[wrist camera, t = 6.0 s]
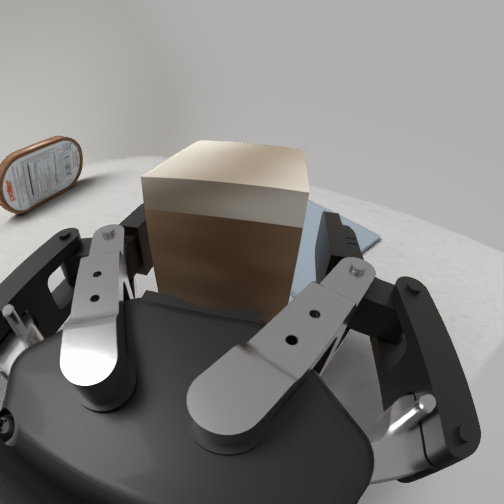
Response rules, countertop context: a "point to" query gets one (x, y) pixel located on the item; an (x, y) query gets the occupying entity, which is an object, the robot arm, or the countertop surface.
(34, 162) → the tin
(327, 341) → the robot arm
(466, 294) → the countertop surface
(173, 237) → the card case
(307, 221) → the mat
